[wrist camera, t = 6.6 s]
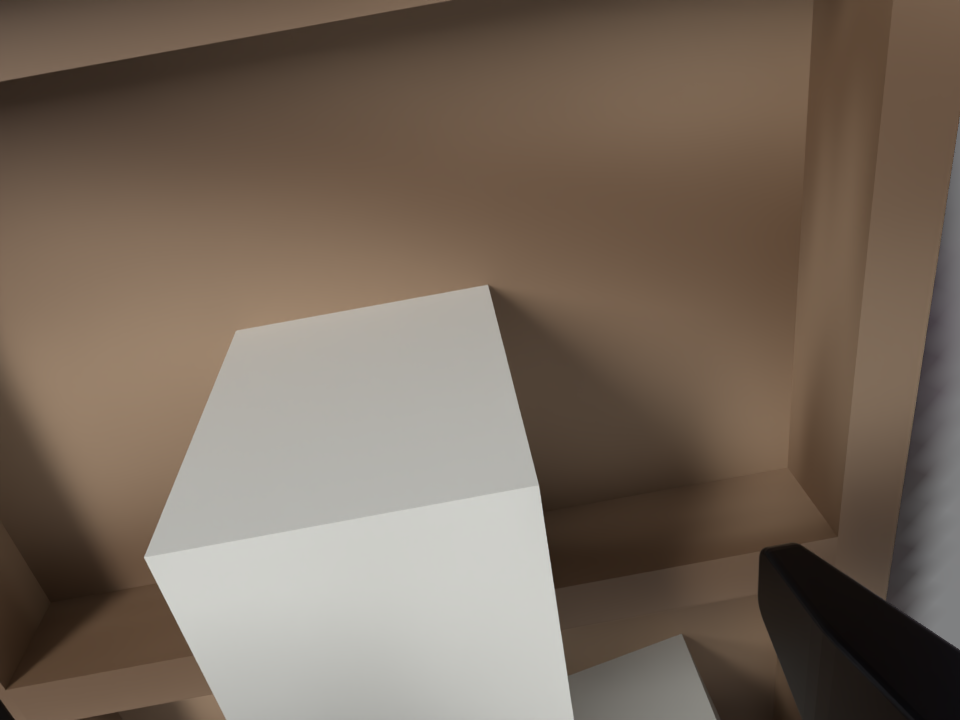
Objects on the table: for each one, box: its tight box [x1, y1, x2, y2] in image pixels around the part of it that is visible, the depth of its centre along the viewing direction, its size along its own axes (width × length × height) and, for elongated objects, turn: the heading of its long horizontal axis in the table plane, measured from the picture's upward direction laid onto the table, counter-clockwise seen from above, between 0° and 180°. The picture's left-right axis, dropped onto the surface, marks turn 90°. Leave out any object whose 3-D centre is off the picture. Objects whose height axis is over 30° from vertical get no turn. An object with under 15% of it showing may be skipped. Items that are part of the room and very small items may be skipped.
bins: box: [0, 0, 960, 720], centre depth 11 cm, size 32×16×2 cm, turn 9°
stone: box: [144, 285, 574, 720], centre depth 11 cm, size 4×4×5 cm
